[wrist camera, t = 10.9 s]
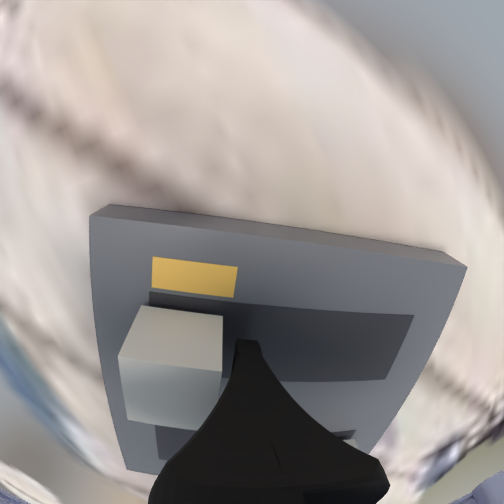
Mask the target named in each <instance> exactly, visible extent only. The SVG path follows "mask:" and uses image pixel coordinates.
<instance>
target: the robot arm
mask: <svg viewBox="0 0 504 504" xmlns="http://www.w3.org/2000/svg"><path fill="white" fill-rule="evenodd" d="M389 487H390V484H389V481H388V479H387V476H386V474H385V471H384V469H383V467H382V465H381V464H380V462H379V460H378V459H377V458H375V457H372V456H370V455H368V454H366V453H364V452H362V451H360V450H358V449H357V448H355V447H353V446H351V445H349V444H348V443H346V442H345V441H343V440H341V439H340V438H338V437H337V436H335V435H334V434H333V433H331V432H330V431H328V430H327V429H326V428H325V427H323V426H322V425H321V424H319V423H318V422H317V421H316V420H314V419H313V418H312V417H311V416H310V415H309V414H308V413H307V412H306V411H305V410H304V409H303V408H302V407H301V406H300V405H299V404H298V403H297V402H296V401H295V400H294V399H293V398H292V397H291V395H290V394H289V393H288V392H287V390H286V389H285V388H284V387H283V385H282V384H281V383H280V382H279V380H278V379H277V377H276V376H275V374H274V373H273V372H272V370H271V369H270V367H269V366H268V364H267V362H266V361H265V359H264V357H263V356H262V350H261V347H260V344H259V342H258V341H257V340H245V339H236V345H235V351H234V357H233V363H232V369H231V375H230V378H229V380H228V383H227V385H226V387H225V389H224V391H223V393H222V395H221V397H220V398H219V400H218V402H217V403H216V405H215V407H214V408H213V410H212V411H211V413H210V414H209V416H208V417H207V419H206V420H205V421H204V423H203V424H202V425H201V427H200V428H199V429H198V430H197V431H196V433H195V434H194V435H193V436H192V437H191V438H190V439H189V441H188V442H187V443H186V444H185V445H184V446H183V447H182V448H181V449H180V450H179V451H178V452H177V453H176V454H175V455H174V456H172V457H171V458H170V459H169V460H168V461H167V462H166V463H165V465H164V467H163V469H162V470H161V472H160V474H159V475H158V477H157V479H156V481H155V483H154V485H153V487H152V489H151V492H150V495H149V499H148V504H376V503H377V502H378V501H379V500H380V499H381V498H383V497H384V495H385V494H386V493H387V492H388V490H389ZM0 504H30V503H28V502H26V501H24V500H22V499H20V498H18V497H16V496H14V495H12V494H10V493H8V492H6V491H4V490H3V489H1V488H0ZM449 504H504V472H503V471H499V472H498V473H496V474H494V475H493V476H491V477H489V478H488V479H486V480H485V481H483V482H482V483H481V484H479V485H478V486H477V487H476V488H475V489H474V490H473V491H472V492H471V493H469V494H467V495H465V496H463V497H461V498H459V499H457V500H455V501H454V502H451V503H449Z"/></svg>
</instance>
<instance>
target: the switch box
mask: <svg viewBox="0 0 504 504" xmlns="http://www.w3.org/2000/svg"><path fill="white" fill-rule="evenodd" d="M89 245H90V272H91V288H92V300H93V310H94V320H95V328H96V336H97V343H98V350H99V356H100V362H101V368H102V374H103V379H104V384H105V389H106V394H107V399H108V403H109V407H110V412H111V416H112V420H113V424H114V428H115V431H116V435H117V439H118V442H119V446H120V449H121V452H122V456H123V459H124V462H125V465H126V468H127V470H131V471H136V472H141V473H147V474H152V475H159V474H160V472H161V470H162V469H163V467H164V465H165V463H166V462H167V461H168V460H169V459H170V458H171V457H172V456H174V455H175V454H176V453H177V452H178V451H179V450H180V449H181V448H182V447H183V446H184V445H185V444H186V443H187V442H188V441H189V439H190V438H191V437H192V436H193V435H194V434H195V433H196V431H197V430H188V429H180V428H173V427H166V426H159V425H153V424H148V423H142V422H137V421H132V420H128V419H127V414H126V408H125V403H124V397H123V391H122V384H121V377H120V370H119V362H118V354H119V352H120V350H121V348H122V346H123V343H124V341H125V339H126V337H127V335H128V332H129V330H130V328H131V326H132V324H133V322H134V320H135V318H136V315H137V313H138V311H139V309H140V307H141V305H144V306H150V307H157V308H164V309H171V310H178V311H186V312H194V313H202V314H210V315H219V316H223V335H222V375H221V383H220V390H219V397H218V400H219V398H220V397H221V395H222V393H223V391H224V389H225V387H226V385H227V383H228V380H229V378H230V375H231V369H232V363H233V357H234V351H235V345H236V339H245V340H257V341H258V342H259V344H260V347H261V350H262V356H263V357H264V359H265V361H266V362H267V364H268V366H269V367H270V369H271V370H272V372H273V373H274V374H275V376H276V377H277V379H278V380H279V382H280V383H281V384H282V385H283V387H284V388H285V389H286V390H287V392H288V393H289V394H290V395H291V397H292V398H293V399H294V400H295V401H296V402H297V403H298V404H299V405H300V406H301V407H302V408H303V409H304V410H305V411H306V412H307V413H308V414H309V415H310V416H311V417H312V418H313V419H314V420H316V421H317V422H318V423H319V424H321V425H322V426H323V427H325V428H326V429H327V430H328V431H330V432H331V433H333V434H334V435H335V436H337V437H338V438H340V439H341V440H349V439H355V441H356V444H357V446H358V449H359V450H360V451H362V452H364V453H366V454H369V453H370V451H371V450H372V449H373V447H374V446H375V445H376V443H377V442H378V441H379V439H380V438H381V436H382V435H383V434H384V432H385V431H386V429H387V428H388V426H389V425H390V423H391V422H392V420H393V419H394V417H395V416H396V414H397V413H398V411H399V410H400V408H401V406H402V405H403V403H404V402H405V400H406V398H407V397H408V395H409V393H410V392H411V390H412V388H413V386H414V385H415V383H416V381H417V379H418V378H419V376H420V374H421V372H422V370H423V369H424V367H425V365H426V363H427V361H428V359H429V357H430V355H431V353H432V351H433V349H434V347H435V345H436V343H437V341H438V339H439V337H440V335H441V332H442V330H443V328H444V326H445V324H446V321H447V319H448V317H449V314H450V312H451V310H452V307H453V305H454V302H455V300H456V297H457V295H458V292H459V290H460V287H461V284H462V282H463V279H464V276H465V273H466V270H467V266H465V265H464V264H462V263H461V262H459V261H457V260H456V259H454V258H453V257H451V256H449V255H448V254H446V253H445V252H439V251H434V250H429V249H423V248H418V247H412V246H407V245H401V244H395V243H389V242H384V241H378V240H372V239H366V238H360V237H353V236H347V235H341V234H335V233H328V232H322V231H315V230H309V229H302V228H295V227H288V226H282V225H275V224H268V223H260V222H253V221H246V220H238V219H231V218H223V217H215V216H207V215H199V214H191V213H183V212H175V211H166V210H157V209H148V208H139V207H130V206H120V205H110V204H109V205H107V206H105V207H104V208H102V209H100V210H98V211H97V212H95V213H93V214H91V215H90V216H89Z"/></svg>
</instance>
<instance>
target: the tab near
mask: <svg viewBox="0 0 504 504" xmlns="http://www.w3.org/2000/svg"><path fill="white" fill-rule="evenodd" d="M222 335H223V316H219V315H210V314H202V313H194V312H186V311H178V310H171V309H164V308H157V307H150V306H144V305H141V307H140V309H139V311H138V313H137V315H136V318H135V320H134V322H133V324H132V326H131V328H130V330H129V332H128V335H127V337H126V339H125V341H124V343H123V346H122V348H121V350H120V352H119V354H118V362H119V370H120V377H121V384H122V391H123V397H124V403H125V408H126V414H127V419H128V420H132V421H137V422H142V423H148V424H153V425H159V426H166V427H173V428H180V429H188V430H198V429H199V428H200V427H201V425H202V424H203V423H204V421H205V420H206V419H207V417H208V416H209V414H210V413H211V411H212V410H213V408H214V407H215V405H216V403H217V402H218V397H219V390H220V383H221V375H222Z"/></svg>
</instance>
